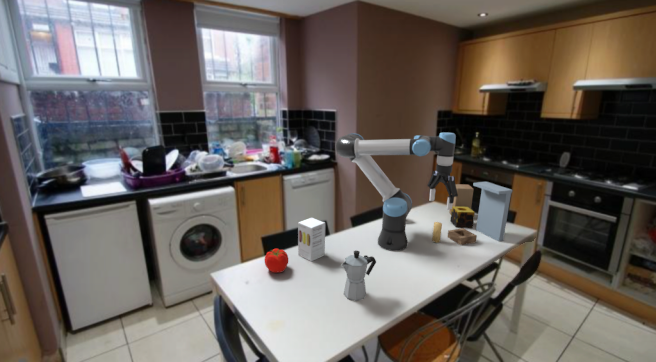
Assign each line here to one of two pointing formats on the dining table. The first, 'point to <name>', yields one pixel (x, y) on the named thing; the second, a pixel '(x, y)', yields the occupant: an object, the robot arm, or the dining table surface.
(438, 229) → the peg
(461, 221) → the yellow black tissue box
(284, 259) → the tomato
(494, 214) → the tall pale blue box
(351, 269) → the coffee maker
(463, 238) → the socket block
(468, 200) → the wooden block
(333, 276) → the dining table surface
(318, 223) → the supplement box
